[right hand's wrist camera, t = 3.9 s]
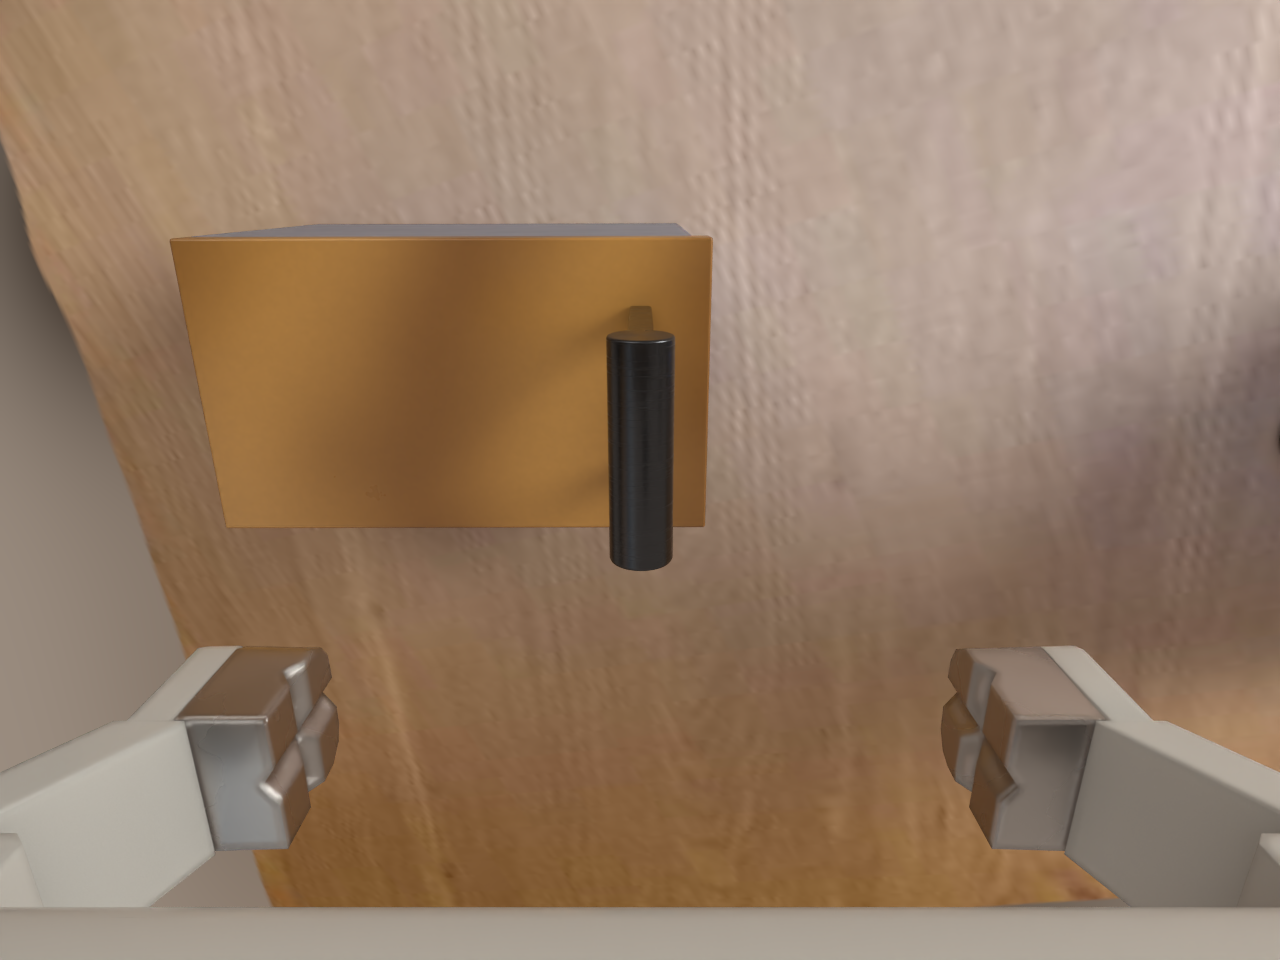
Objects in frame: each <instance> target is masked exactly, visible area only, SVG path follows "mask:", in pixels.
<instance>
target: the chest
mask: <svg viewBox="0 0 1280 960" xmlns="http://www.w3.org/2000/svg"><path fill="white" fill-rule="evenodd" d="M368 236H691V235H690V234H689V233H688V232H687V231H685V230H684V229H683V228H682V227H681V226H679V225H678V224H317V225H306V226H296V227H286V228H275V229H265V230H255V231H244V232H234V233H224V234H214V235H203V236H193V237H368Z"/></svg>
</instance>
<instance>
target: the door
mask: <svg viewBox="0 0 1280 960" xmlns="http://www.w3.org/2000/svg"><path fill="white" fill-rule="evenodd" d="M170 245H171V250H172V255H173V260H174V265H175V270H176V276H177V281H178V286H179V291H180V296H181V301H182V306H183V311H184V316H185V321H186V326H187V331H188V336H189V341H190V347H191V352H192V357H193V362H194V367H195V372H196V377H197V382H198V387H199V392H200V397H201V402H202V407H203V412H204V418H205V423H206V428H207V433H208V438H209V443H210V448H211V453H212V458H213V463H214V468H215V473H216V478H217V483H218V489H219V494H220V499H221V504H222V509H223V514H224V519H225V524H226V527H227V528H447V527H609V536H610V559H611V561H612V562H613V563H614V564H615V565H617V566H618V567H621V568H624V569H628V570H634V571H648V570H655V569H658V568H661V567H664V566H666V565H667V564H668V563H669V562H670V561H671V559H672V553H673V527H704V526H705V505H706V469H707V433H708V397H709V361H710V325H711V289H712V253H713V239H712V238H711V237H710V236H368V237H184V238H173V239H170Z"/></svg>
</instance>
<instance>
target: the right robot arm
mask: <svg viewBox="0 0 1280 960" xmlns="http://www.w3.org/2000/svg"><path fill="white" fill-rule="evenodd" d="M331 678H332V675H331V670H330V665H329V660H328V655H327V654H326V653H325V652H324V651H323V650H322V649H321V648H308V647H258V646H246V647H242V646H207V647H202V648H198V649H197V650H196V651H195V652H194V653H193V654H192V655H191V656H190V657H189V658H188V659H187V660H186V661H185V662H184V663H183V664H182V665H181V666H180V667H179V668H178V669H177V670H176V671H175V672H174V673H173V674H172V675H171V676H170V677H169V678H168V679H167V680H166V681H165V682H164V683H163V684H162V685H161V686H160V687H159V688H158V689H157V690H156V691H155V692H154V693H153V694H152V695H151V696H150V697H149V698H148V700H147V701H146V702H145V703H144V704H143V705H142V706H141V707H140V708H139V709H138V710H137V711H136V712H135V713H134V714H133V715H132V716H131V717H130V718H129V719H128V720H127V721H112V722H110V723H108V724H106V725H103V726H101V727H99V728H97V729H95V730H93V731H90V732H88V733H86V734H84V735H82V736H79V737H77V738H75V739H73V740H71V741H68V742H66V743H64V744H62V745H60V746H57V747H55V748H53V749H51V750H49V751H46V752H44V753H42V754H40V755H37V756H35V757H33V758H31V759H29V760H27V761H24V762H22V763H20V764H18V765H16V766H13V767H11V768H9V769H7V770H5V771H2V772H0V960H1280V772H1277V771H1275V770H1273V769H1271V768H1269V767H1266V766H1264V765H1262V764H1260V763H1258V762H1255V761H1253V760H1251V759H1249V758H1247V757H1244V756H1242V755H1240V754H1238V753H1236V752H1234V751H1231V750H1229V749H1227V748H1225V747H1223V746H1220V745H1218V744H1216V743H1214V742H1212V741H1209V740H1207V739H1205V738H1203V737H1201V736H1198V735H1196V734H1194V733H1192V732H1190V731H1187V730H1185V729H1183V728H1181V727H1179V726H1177V725H1174V724H1172V723H1170V722H1168V721H1153V720H1152V719H1151V718H1150V717H1149V716H1148V715H1147V714H1146V713H1145V712H1144V711H1143V710H1142V709H1141V708H1140V707H1139V706H1138V705H1137V703H1136V702H1135V701H1134V700H1133V699H1132V698H1131V697H1130V696H1129V695H1128V694H1127V693H1126V692H1125V691H1124V690H1123V689H1122V688H1121V687H1120V686H1119V685H1118V684H1117V683H1116V682H1115V681H1114V680H1113V679H1112V678H1111V677H1110V676H1109V675H1108V674H1107V673H1106V672H1105V671H1104V670H1103V669H1102V668H1101V667H1100V666H1099V665H1098V664H1097V663H1096V662H1095V661H1094V660H1093V659H1092V658H1091V657H1090V656H1089V655H1088V654H1087V652H1086V651H1085V650H1084V649H1081V648H1079V647H1076V646H1073V645H1071V646H1045V647H1016V648H976V649H956V650H955V653H954V655H953V657H952V659H951V663H950V669H949V674H948V678H949V680H950V681H951V683H952V684H953V686H954V688H955V689H956V691H957V693H956V694H955V695H954V696H953V697H952V698H951V699H950V700H949V701H948V702H947V703H946V704H945V706H944V707H943V714H942V723H941V736H942V747H943V753H944V756H945V759H946V762H947V766H948V768H949V770H950V772H951V774H952V776H953V778H954V780H955V781H956V782H958V783H959V784H961V785H962V786H964V787H965V788H967V789H968V790H970V791H971V792H972V793H971V799H970V805H969V808H970V810H971V811H972V813H973V815H974V817H975V819H976V821H977V822H978V824H979V826H980V828H981V830H982V831H983V833H984V835H985V837H986V839H987V841H988V842H989V844H990V846H991V848H992V849H1018V850H1053V851H1065V853H1064V854H1065V855H1066V856H1067V857H1069V858H1070V859H1071V860H1072V861H1074V862H1075V863H1076V864H1077V865H1079V866H1080V867H1081V868H1082V869H1084V870H1085V871H1086V872H1087V873H1089V874H1090V875H1091V876H1093V877H1094V878H1095V879H1096V880H1098V881H1099V882H1100V883H1101V884H1103V885H1104V886H1105V887H1106V888H1108V889H1109V890H1110V891H1111V892H1113V893H1114V894H1115V895H1116V896H1118V897H1119V898H1120V899H1121V900H1123V901H1124V902H1125V903H1126V904H1128V905H1129V906H1130V907H150V906H151V905H153V904H154V903H155V902H156V901H158V900H159V899H160V898H161V897H163V896H164V895H165V894H166V893H168V892H169V891H170V890H171V889H173V888H174V887H175V886H176V885H178V884H179V883H180V882H182V881H183V880H184V879H185V878H186V877H188V876H189V875H190V874H192V873H193V872H194V871H195V870H197V869H198V868H199V867H200V866H202V865H203V864H204V863H205V862H207V861H208V860H209V859H210V858H212V857H213V856H214V855H215V851H226V850H261V849H288V848H289V846H290V844H291V843H292V841H293V839H294V837H295V835H296V833H297V832H298V830H299V828H300V826H301V824H302V822H303V821H304V819H305V817H306V815H307V813H308V811H309V809H310V808H311V805H310V799H309V793H308V792H309V791H311V790H312V789H313V788H315V787H316V786H318V785H319V784H321V783H322V782H324V781H325V780H326V778H327V776H328V774H329V772H330V770H331V768H332V766H333V763H334V759H335V755H336V750H337V746H338V742H339V720H338V713H337V707H336V706H335V704H334V703H333V702H332V701H331V700H330V699H329V698H328V697H327V696H326V695H325V694H324V693H323V691H324V689H325V688H326V686H327V684H328V683H329V681H330V680H331Z"/></svg>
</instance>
